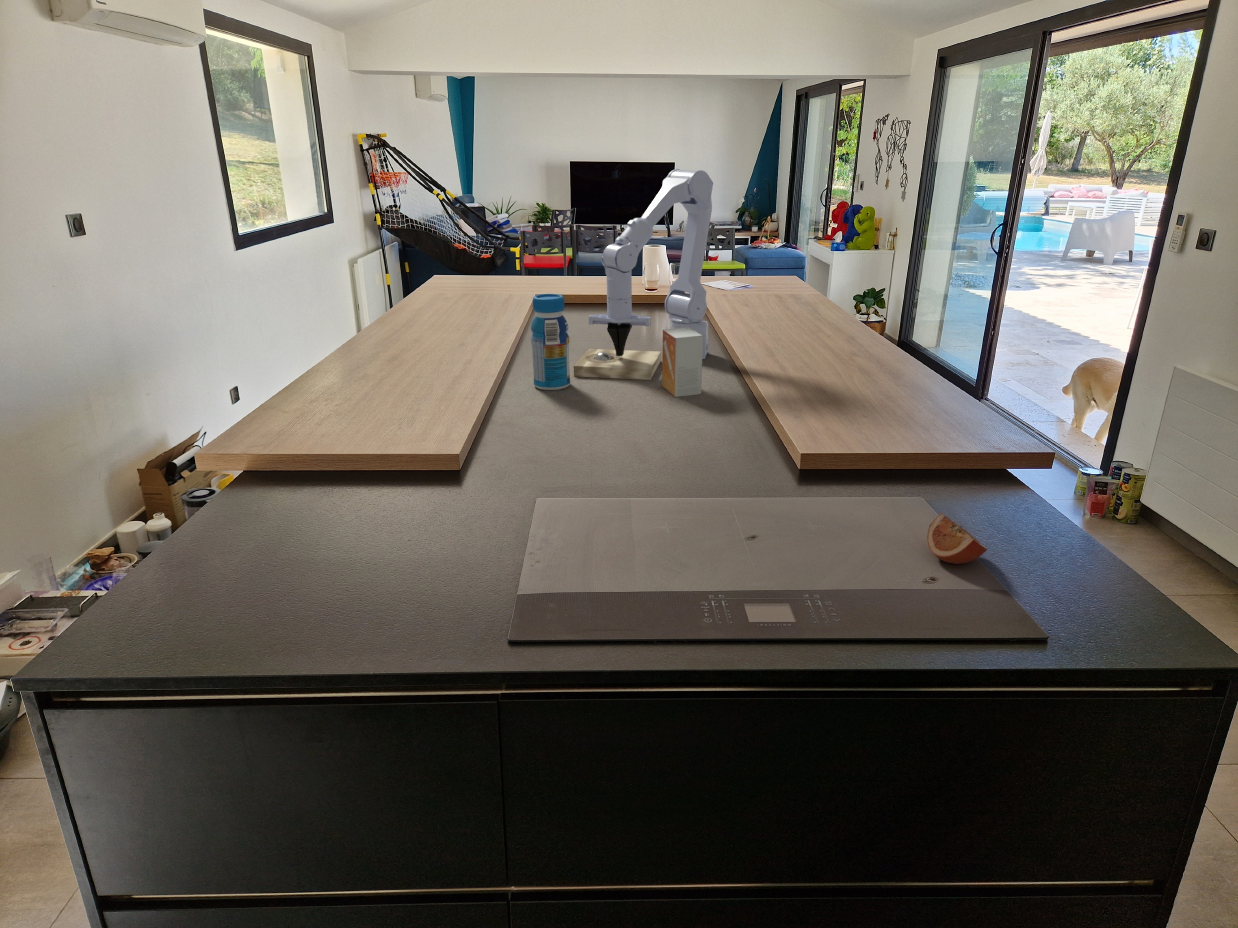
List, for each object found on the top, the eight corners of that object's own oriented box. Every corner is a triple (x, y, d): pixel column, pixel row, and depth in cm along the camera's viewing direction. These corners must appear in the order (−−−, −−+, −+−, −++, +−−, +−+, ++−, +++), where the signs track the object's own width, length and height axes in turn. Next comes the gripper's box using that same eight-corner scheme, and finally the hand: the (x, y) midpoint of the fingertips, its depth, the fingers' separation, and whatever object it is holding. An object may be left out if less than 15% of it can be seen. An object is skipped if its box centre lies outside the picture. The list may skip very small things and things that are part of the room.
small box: (661, 387, 180) (662, 329, 175) (688, 384, 182) (689, 327, 177) (674, 397, 173) (675, 337, 168) (702, 394, 175) (703, 335, 170)
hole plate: (660, 361, 200) (660, 351, 199) (650, 379, 186) (650, 369, 185) (589, 358, 203) (589, 348, 202) (573, 376, 189) (573, 365, 188)
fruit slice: (915, 545, 111) (920, 512, 109) (961, 542, 112) (967, 509, 110) (945, 575, 104) (950, 541, 102) (994, 572, 104) (1001, 537, 102)
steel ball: (591, 351, 193) (592, 364, 196) (597, 360, 191) (598, 373, 194) (607, 347, 194) (607, 360, 197) (613, 356, 192) (613, 369, 195)
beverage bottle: (525, 388, 181) (520, 298, 173) (546, 378, 187) (542, 291, 180) (558, 393, 177) (554, 301, 169) (577, 383, 184) (575, 294, 176)
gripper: (584, 300, 186) (586, 358, 191) (647, 302, 183) (647, 360, 188) (591, 294, 192) (593, 350, 197) (652, 296, 189) (652, 353, 195)
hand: (620, 355), depth 193 cm, fingers closed
